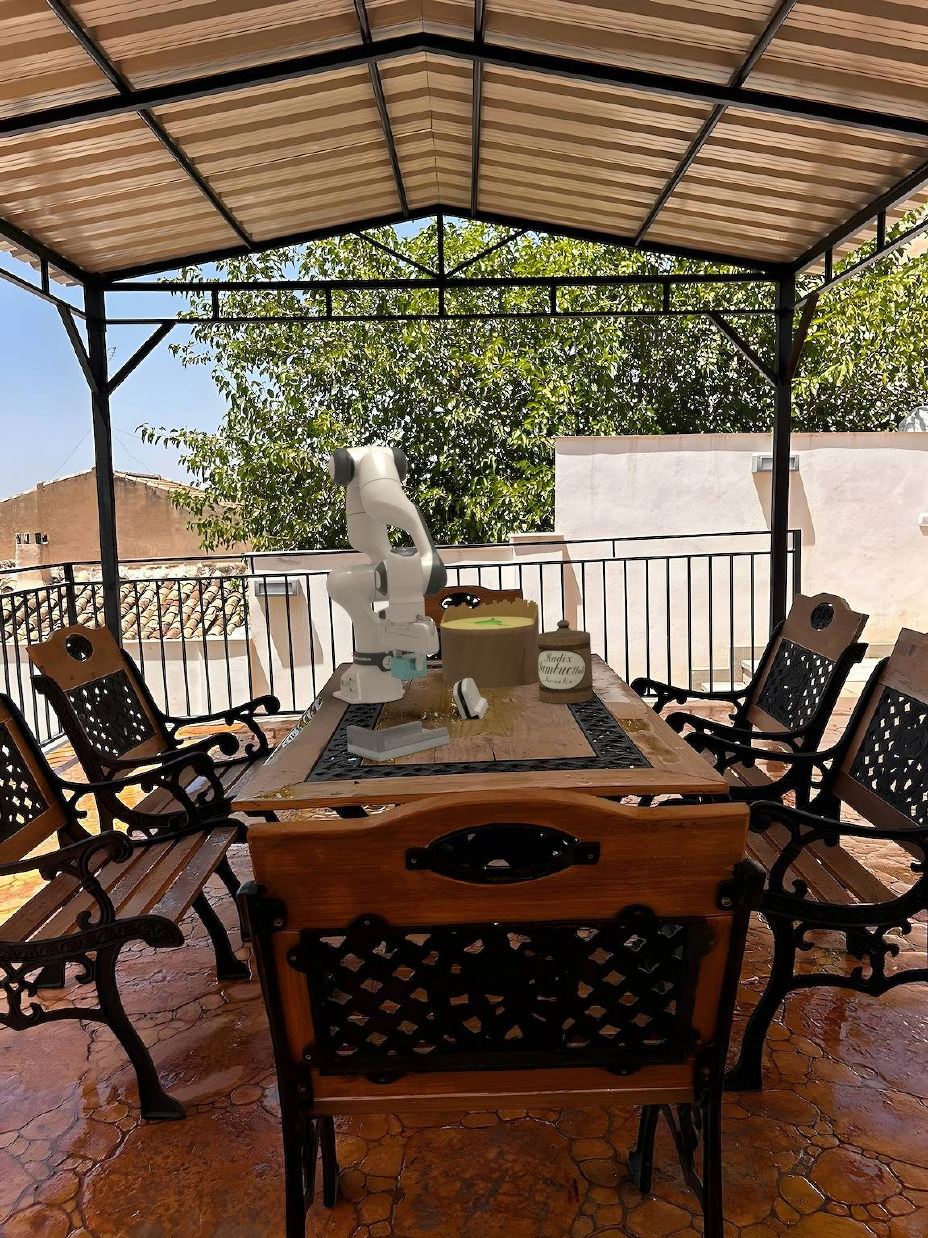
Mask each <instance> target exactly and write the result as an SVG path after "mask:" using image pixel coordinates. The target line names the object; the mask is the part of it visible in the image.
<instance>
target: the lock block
mask: <svg viewBox="0 0 928 1238" xmlns="http://www.w3.org/2000/svg"><path fill="white" fill-rule="evenodd" d="M390 659H391V677H393V678H398V679H401V681H402V680H403V681H407V680H411V679H415V678H422V677H426V676H428V669H427V668H428V667H427V666H428V664H427V656H426V657H425V659H424V661H423V669H422V670H420V671H417V670H414V666H413V663H416V659H417V657H415V653H414V652H410V653H405V654H402V655H400V656H395V657H390Z"/></svg>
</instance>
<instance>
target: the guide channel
mask: <svg viewBox="0 0 928 1238" xmlns="http://www.w3.org/2000/svg"><path fill="white" fill-rule="evenodd" d="M345 727H346V741H347V743H346V744H347V753H349V752H350V753H349V754H352V753H353V754H352V755H355V754H356V756H358V757H362V758H364V759H368V760H372V761H374V762H378V763H380V762H385V761H389V760H393V759H397V758H400V757H403V756H407V755H410V754H414V753H419V752H423V751H426V750H429V749H433V748H437V747H441V746H444V745H447V744H451V743H450V734H449V728H448V727H445V726H442V727H437V728H434V729H427V728H424V727H423V722H422V721H420V720H416V721H411V722H407V723H403V724H398V725H395V726H394V725H393V726H390V727H385V728H381V729H379V730H378V729H377V730H373V729H369V728H366V727H361V726H357V725H354V724H351V725H347V726H345Z"/></svg>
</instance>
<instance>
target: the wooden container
mask: <svg viewBox="0 0 928 1238" xmlns="http://www.w3.org/2000/svg"><path fill="white" fill-rule="evenodd" d="M556 626H557V629H555V630H554V631H553V630H552V631H551V630H550V631H546V632H545V631H544V632H542V633H540V632H539V634H538V636H537V642H538V675H539V679H538V697H539V700H540V701H542V702H543V703H548V704H553V705H554V704H556V705H558V704H559V705H570V704H571V705H572V704H573V705H574V704H579V703H586V702H589V701H591V700H593V698H594V693H593V692H594V688H593V687H594V686H593V685H594V683H593V682H594V681H593V679H594V678H593V664H592V662H593V661H592V647H591V642H592V641H591V633H590V632H589V631H585V630H572V629H571V628H570V621H568V620H566V619H560V620H559V621H557V623H556Z"/></svg>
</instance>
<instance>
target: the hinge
mask: <svg viewBox="0 0 928 1238" xmlns="http://www.w3.org/2000/svg"><path fill="white" fill-rule="evenodd" d="M452 692H453V693H452V694H453V697H454V700H455V703H456V706H457V708H458V711H459V714H460V716H461V717H460V718H461V719H462V720H467V719H468V718H469V717H474V716H478V718H479V720H482V719H483V717H484V716H485V714H486V711H487V709H488V707H489V703H488V700H487V698H485V697H482V696H481V694H480V692H479V688H477V687H476V685H475V682H474V680H473V679H472V678H466V679H464V680H463V681H462V680H460V681H458V682H457V683H456V684H455V685H454V686H453V691H452Z"/></svg>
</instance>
